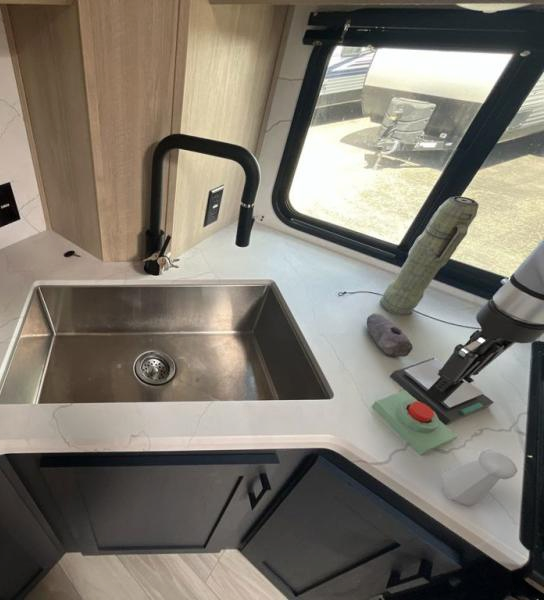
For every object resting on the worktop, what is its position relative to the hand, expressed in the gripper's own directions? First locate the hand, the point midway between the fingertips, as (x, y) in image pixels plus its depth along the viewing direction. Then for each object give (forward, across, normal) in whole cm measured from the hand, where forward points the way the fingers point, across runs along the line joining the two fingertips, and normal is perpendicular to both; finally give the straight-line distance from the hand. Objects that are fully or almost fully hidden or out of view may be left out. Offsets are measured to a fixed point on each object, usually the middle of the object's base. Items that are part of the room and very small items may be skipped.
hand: (434, 396), depth 65 cm
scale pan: (+7, -14, -4) cm, 16 cm away
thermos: (+10, -33, -31) cm, 46 cm away
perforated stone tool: (+10, -15, -21) cm, 28 cm away
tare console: (+10, 0, 0) cm, 10 cm away
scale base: (+10, -14, -4) cm, 17 cm away
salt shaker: (+10, +5, +13) cm, 17 cm away
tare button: (+6, 0, 0) cm, 6 cm away
